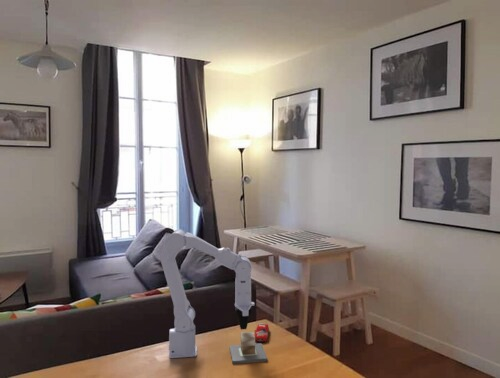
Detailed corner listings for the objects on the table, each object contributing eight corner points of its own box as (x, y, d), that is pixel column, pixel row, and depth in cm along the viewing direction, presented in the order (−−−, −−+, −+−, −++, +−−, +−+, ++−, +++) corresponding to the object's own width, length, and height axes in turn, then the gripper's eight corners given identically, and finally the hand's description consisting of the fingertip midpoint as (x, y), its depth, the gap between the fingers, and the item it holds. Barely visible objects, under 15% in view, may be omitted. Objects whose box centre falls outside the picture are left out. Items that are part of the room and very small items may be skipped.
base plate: (232, 363, 131) (232, 360, 131) (229, 348, 143) (229, 345, 143) (267, 361, 133) (267, 358, 133) (261, 345, 145) (261, 342, 145)
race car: (267, 344, 147) (267, 334, 147) (252, 343, 148) (252, 333, 147) (270, 330, 160) (270, 320, 160) (257, 329, 161) (257, 320, 161)
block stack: (242, 354, 136) (242, 337, 135) (240, 349, 140) (240, 332, 140) (255, 353, 136) (255, 337, 136) (253, 348, 141) (253, 331, 141)
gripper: (257, 297, 133) (257, 336, 133) (251, 285, 147) (251, 320, 148) (236, 298, 132) (236, 337, 133) (232, 285, 146) (233, 321, 147)
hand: (243, 328), depth 140 cm, fingers closed
